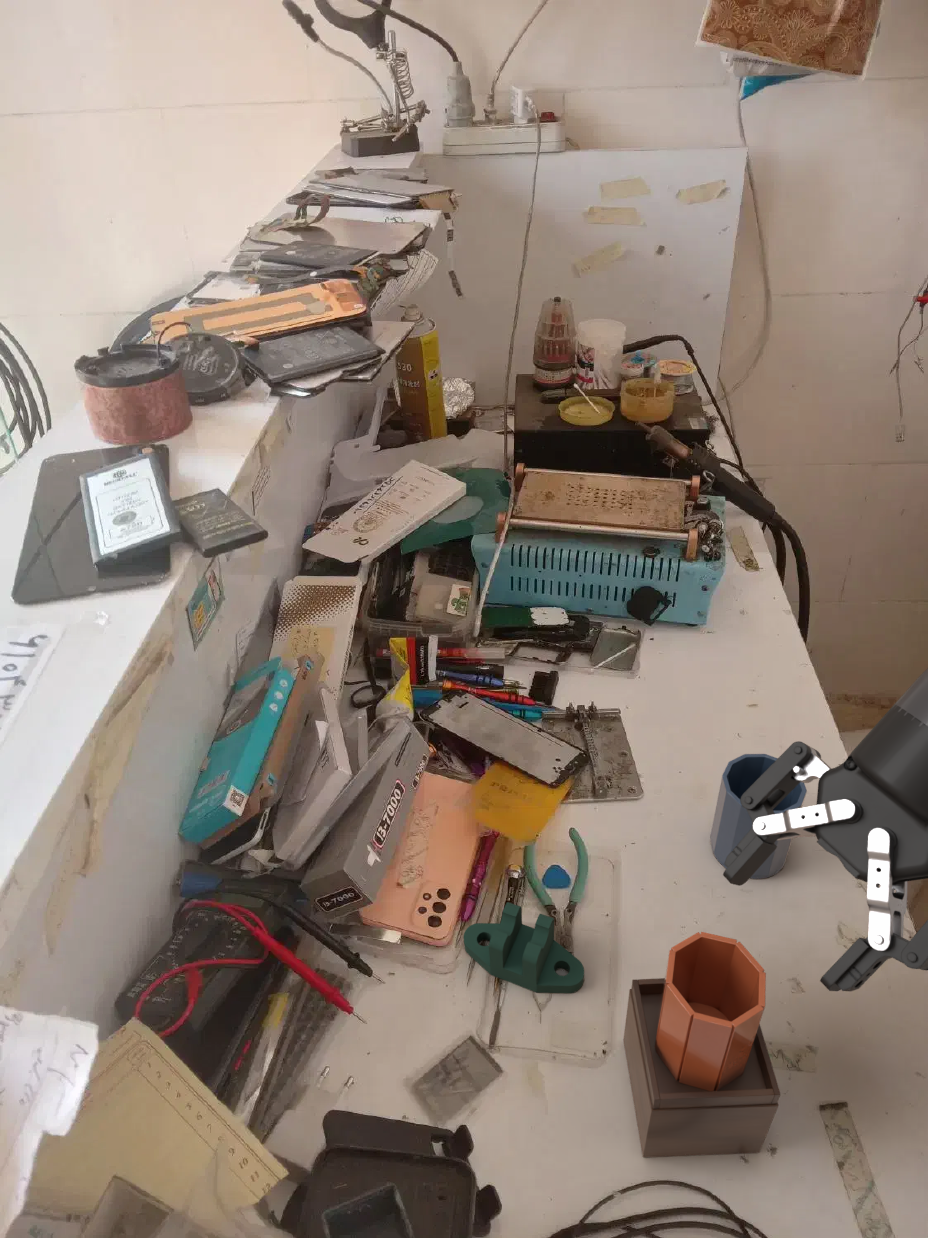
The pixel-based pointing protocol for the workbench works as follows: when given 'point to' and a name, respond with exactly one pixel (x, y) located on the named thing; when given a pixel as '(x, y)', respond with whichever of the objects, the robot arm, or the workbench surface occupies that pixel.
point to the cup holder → (693, 1092)
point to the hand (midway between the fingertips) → (777, 931)
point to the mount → (524, 953)
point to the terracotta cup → (709, 1010)
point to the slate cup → (735, 818)
